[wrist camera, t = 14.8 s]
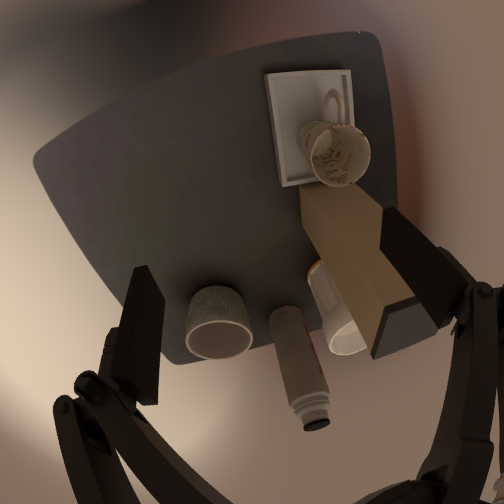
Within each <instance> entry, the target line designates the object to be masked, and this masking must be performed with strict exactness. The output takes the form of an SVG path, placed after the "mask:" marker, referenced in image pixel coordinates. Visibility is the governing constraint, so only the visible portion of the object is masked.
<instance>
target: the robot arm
mask: <svg viewBox="0 0 504 504" xmlns="http://www.w3.org/2000/svg"><path fill="white" fill-rule="evenodd" d="M379 249H380V251H381V252H382V253H383V254H384V255H385V257H386V258H387V259H388V260H389V262H390V263H391V264H392V266H393V267H394V268H395V269H396V271H397V272H398V273H399V275H400V276H401V277H402V278H403V280H404V281H405V282H406V284H407V285H408V286H409V288H410V289H411V291H412V292H413V293H414V295H415V296H416V297H417V299H418V300H419V302H420V303H421V304H422V306H423V307H424V309H425V310H426V311H427V313H428V314H429V316H430V317H431V319H432V320H433V322H434V323H435V325H436V326H437V328H438V329H441V328H443V327H445V326H447V325H449V324H450V322H451V321H452V319H453V317H454V316H455V318H456V319H457V322H456V324H455V326H454V327H453V330H452V331H451V334H450V335H453V333H454V331H455V335H454V345H453V353H452V361H451V368H450V374H449V379H448V386H447V390H446V395H445V400H444V404H443V409H442V413H441V416H440V421H439V424H438V428H437V431H436V435H435V438H434V441H433V445H432V447H431V450H430V453H429V455H428V456H427V458H426V459H425V460H424V462H423V464H422V466H421V468H420V470H419V473H418V475H417V477H416V480H412V481H410V480H406V481H403V482H400V483H397V484H393V485H390V486H388V487H385V488H383V489H381V490H378V491H376V492H373V493H371V494H369V495H367V496H366V497H364V498H362V499H361V500H359V501H357V502H356V503H354V504H491V503H488V502H485V501H482V500H479V499H480V496H481V493H482V491H483V488H484V485H485V482H486V478H487V475H488V472H489V468H490V464H491V461H492V457H493V452H494V445H493V443H492V442H491V441H490V431H491V426H492V420H493V414H494V406H495V398H496V388H497V393H498V403H499V424H500V444H499V462H500V473H501V477H500V479H498V480H497V481H496V482H495V484H494V487H493V488H494V491H495V492H497V494H496V498H495V499H494V501H493V503H492V504H504V284H503V286H502V287H499V288H492V287H491V286H490V285H489V284H488V283H485V282H477V281H476V280H475V279H474V278H473V277H472V276H471V275H470V274H469V273H468V271H467V270H466V269H465V268H464V267H463V266H462V265H461V264H459V262H458V261H457V260H456V259H455V258H454V256H453V255H452V254H451V253H450V252H449V251H447V250H446V249H444V248H442V247H437V248H436V247H435V246H434V245H433V244H432V243H431V242H430V241H429V240H428V239H427V238H426V237H425V236H424V235H423V234H422V233H421V232H420V231H419V230H418V229H417V228H416V227H415V226H414V225H413V224H412V223H411V222H410V221H408V220H407V219H406V218H405V217H404V216H403V215H402V214H401V213H400V212H399V211H398V210H396V209H395V208H394V207H391V208H386V209H383V212H382V225H381V236H380V245H379ZM164 310H165V299H164V297H163V295H162V293H161V291H160V289H159V288H158V286H157V284H156V282H155V280H154V278H153V276H152V274H151V272H150V270H149V268H148V266H147V265H143V266H139V267H135V268H134V270H133V274H132V277H131V281H130V284H129V288H128V292H127V296H126V299H125V303H124V307H123V312H122V316H121V320H120V324H119V327H114V328H111V330H110V331H109V333H108V335H107V336H106V340H105V344H104V349H103V355H102V357H101V362H100V367H99V372H98V375H97V374H96V373H95V372H94V371H90V370H88V371H84V372H83V373H81V374H80V375H79V376H78V377H77V378H76V381H75V383H74V392H75V393H76V394H77V395H78V396H79V398H76V399H72V398H71V397H69V396H68V395H62V396H60V397H58V398H57V399H56V401H55V402H54V405H53V415H54V421H55V426H56V431H57V436H58V440H59V445H60V449H61V453H62V456H63V460H64V464H65V467H66V471H67V474H68V477H69V480H70V483H71V486H72V489H73V492H74V494H75V497H76V500H77V502H78V504H141V503H140V501H139V499H138V497H137V496H136V494H135V492H134V490H133V488H132V486H131V484H130V482H129V479H128V477H127V475H126V473H125V471H124V468H123V466H122V464H121V462H120V459H119V457H118V454H117V452H116V450H117V451H118V453H119V454H120V456H121V457H122V458H123V460H124V461H125V462H126V464H127V465H128V467H129V468H130V469H131V470H132V472H133V473H134V474H135V476H136V477H137V478H138V479H139V480H140V482H141V483H142V484H143V485H144V486H145V488H146V489H147V490H148V491H149V492H150V493H151V495H152V496H153V497H154V498H155V499H156V500H157V501H158V502H159V503H160V504H233V503H232V502H231V501H229V500H228V499H227V498H225V497H224V496H223V495H222V494H220V493H219V492H218V491H217V490H216V489H215V488H213V487H212V486H211V485H210V484H209V483H208V482H206V481H205V480H204V479H203V478H202V477H201V476H200V475H199V474H198V473H197V472H196V471H195V470H193V469H192V468H191V467H190V466H189V465H188V464H187V463H186V462H185V461H184V460H183V459H182V458H181V457H180V456H179V455H178V454H177V453H176V452H175V451H174V450H173V449H172V448H171V447H170V446H169V445H168V443H167V442H166V441H165V440H164V439H163V438H162V437H161V436H160V434H159V433H158V432H157V431H156V430H155V429H154V428H153V426H152V425H151V424H150V423H149V422H148V421H147V420H146V418H145V417H144V416H143V415H142V413H141V412H140V411H139V410H138V409H137V408H136V401H138V402H139V403H140V404H141V405H143V406H146V405H158V385H159V368H160V353H161V341H162V329H163V319H164Z"/></svg>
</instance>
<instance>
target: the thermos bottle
mask: <svg viewBox="0 0 504 504" xmlns="http://www.w3.org/2000/svg"><path fill="white" fill-rule="evenodd" d="M269 325H270V329H271V333H272V337H273V341H274V344H275V348H276V352H277V357H278V361H279V365H280V369H281V373H282V377H283V381H284V385H285V389H286V394H287V398H288V402H289V405H290V408H291V409H293V410H294V413H295V414H296V417H297V418H300V419H302V422H303V424H304V427H303V428H304V431H315V430H318V429H321V428H324V427H326V426H327V425H329V424H330V420H329V419H328V413H327V411H328V409H329V408H330V401H329V400H328V399H329V398H330V392H329V389H328V386H327V383H326V380H325V377H324V374H323V371H322V368H321V366H320V362H319V360H318V357H317V354H316V351H315V348H314V345H313V343H312V340H311V337H310V334H309V331H308V329H307V326H306V323H305V320H304V318H303V315H302V312H301V310H300V309H299V308H297V307H295V306H283V307H280V308H278V309H276V310H275V311H273V312H272V313H271V315H270V316H269Z"/></svg>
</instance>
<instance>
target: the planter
mask: <svg viewBox="0 0 504 504" xmlns="http://www.w3.org/2000/svg"><path fill="white" fill-rule="evenodd" d="M185 342H186V346H187V348H188V349H189V350H190V351H191V352H192V353H193V354H195V355H197V356H199V357H201V358H205V359H209V360H225V359H230V358H234V357H237V356H239V355H241V354H243V353H244V352H245V351H247V350H248V349H249V347H250V346H251V344H252V342H253V335H252V331H251V326H250V322H249V318H248V314H247V310H246V307H245V304H244V301H243V299H242V298H241V296H240V295H239V294H238V293H237V292H236V291H235V290H233V289H231V288H229V287H226V286H221V285H214V286H208V287H205V288H203V289H201V290H199V291H198V292H197V293H195V294H194V296H193V297H192V299H191V301H190V303H189V307H188V313H187V323H186V339H185Z"/></svg>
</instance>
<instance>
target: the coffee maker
mask: <svg viewBox="0 0 504 504" xmlns="http://www.w3.org/2000/svg"><path fill="white" fill-rule="evenodd" d="M264 81H265V87H266V93H267V100H268V106H269V113H270V120H271V127H272V134H273V141H274V148H275V156H276V164H277V171H278V179H279V182H280V184H281V185H282V187H287V186H292V185H298V184H299V193H300V206H301V220H302V226H303V228H304V229H305V231H306V233H307V235H308V236H309V238H310V240H311V241H312V243H313V245H314V247H315V249H316V250H317V252H318V254H319V256H320V257H321V259H322V261H323V263H324V265H325V266H326V268H327V270H328V272H329V274H330V276H331V277H332V279H333V281H334V283H335V285H336V287H337V289H338V291H339V292H340V294H341V296H342V298H343V300H344V302H345V304H346V306H347V308H348V310H349V312H350V314H351V316H352V318H353V320H354V321H355V323H356V325H357V327H358V329H359V331H360V333H361V336H362V338H363V340H364V342H365V344H366V346H367V348H368V350H369V352H370V354H371V356H372V358H373V360H375V359H378V358H381V357H383V356H386V355H389V354H391V353H394V352H396V351H399V350H401V349H404V348H406V347H409V346H411V345H413V344H416V343H418V342H420V341H423V340H425V339H427V338H429V337H431V336H434V335H435V334H436V333H437V331H438V328H437V326H436V325H435V323H434V322H433V320H432V319H431V317H430V316H429V314H428V313H427V311H426V310H425V309H424V307H423V306H422V304H421V303H420V302H419V300H418V299H417V297H416V296H415V295H414V293H413V292H412V291H411V289H410V288H409V286H408V285H407V284H406V282H405V281H404V280H403V278H402V277H401V276H400V275H399V273H398V272H397V271H396V269H395V268H394V267H393V266H392V264H391V263H390V262H389V260H388V259H387V258H386V257H385V255H384V254H383V253H382V252H381V251H380V249H379V245H380V236H381V225H382V212H383V208H382V207H381V206H380V205H379V204H378V203H377V202H375V201H374V200H373V199H372V198H371V197H370V196H369V195H368V194H366V193H365V192H364V191H363V190H362V189H361V188H360V187H358V186H357V185H356V184H355V183H352V184H350V185H348V186H344V187H333V186H329V185H327V184H325V183H323V182H322V181H320V180H319V179H318V178H317V177H316V175H315V174H314V172H313V171H312V169H311V168H310V166H309V164H308V163H307V161H306V159H305V158H304V156H303V154H302V153H301V151H300V149H299V148H298V145H297V134H298V131H299V130H300V128H301V127H302V126H303V125H304V124H305V123H307V122H310V121H323V119H322V104H323V101H324V98H325V95H326V93H327V92H328V91H329V90H330V89H336V90H337V91H338V92H339V93H340V94H341V96H342V98H343V101H344V105H345V117H344V124H348V125H351V126H353V127H355V126H354V108H353V94H352V82H351V73H350V70H310V71H294V72H282V73H272V74H264ZM337 117H338V105H337V102H336V100H335V98H331V99H330V101H329V105H328V110H327V118H326V121H327V122H335V123H337ZM316 181H317V182H316ZM310 182H311V183H310ZM304 183H305V184H304Z"/></svg>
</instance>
